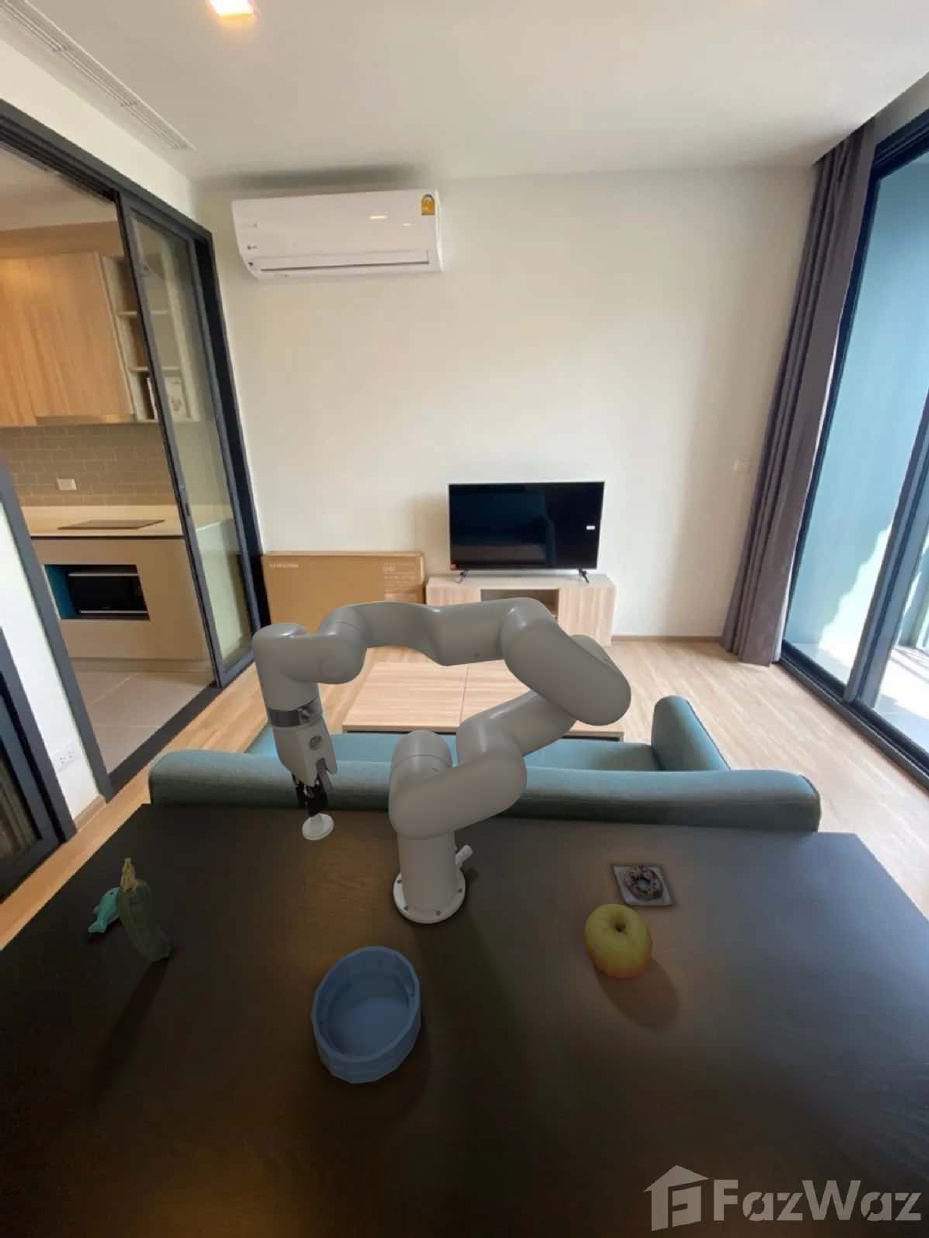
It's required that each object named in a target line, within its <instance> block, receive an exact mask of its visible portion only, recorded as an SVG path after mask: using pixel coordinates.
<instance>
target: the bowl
mask: <svg viewBox="0 0 929 1238" xmlns="http://www.w3.org/2000/svg"><path fill="white" fill-rule="evenodd" d="M316 988H317V989H316V990H315V993H314V996H313V1001H312V1006H311V1007H312V1008H311V1013H310V1019H311V1025H312V1028H313V1034H314V1039H315V1043H316V1047H317V1053H318V1057H319V1060H320V1061H321V1062H322V1064H323V1065H324V1066H325V1067H326V1069H327V1070H328V1071H329V1073H330V1074H331V1076H333V1077H336V1078H338V1079H340V1080H343V1081H346V1082H348V1083H350V1084H363V1083H373V1082H377V1081H379V1080H380V1079H381V1078H384V1077H385V1076H387V1075H389V1074H390V1073H392V1072H393V1071H395V1070H396V1069H398V1068H399V1066H400V1065H401V1064H402V1063H403V1062H404V1060H405V1059H406V1058H407V1056H408V1055H409V1054H410V1053H411V1051H412V1050H413V1049H414V1047H415V1043H416V1040H417V1038H418V1035H419V1032H420V1029H421V1026H422V999H421V987H420V981H419V978H418V976H417V973H416V971H415V969H414V966H413V964H412V963H411V962H410V961H409V960H408V959H407V958H406V957H405V956H404V955H403V954H402V953H401V952H400V951H397V950H395V949H392V948H388V947H385V946H383V945H377V946H365V947H361V948H359V949H356V950H353V951H352V952H350V953H347V954H346V955H343V956H342V957H341V958H340V959H339V960H338V961H336V962H335V963H334V964H333V965H332V966H331V967H330V968H329V969H328V970H327V971H326V972H325V974H324V976H323V978H322V980H321V981H320V983H319V985H318V986H317V987H316Z"/></svg>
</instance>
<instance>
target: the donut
mask: <svg viewBox="0 0 929 1238" xmlns="http://www.w3.org/2000/svg"><path fill="white" fill-rule="evenodd" d="M612 869H613V872H614V875H615V878H616V881H617V885H618V888H619V891H620V894H621V898H622V900H623V902H625V903H626V904H627V905H628V906H641V907H643V906H647V907H649V906H652V907H660V906H661V907H666V906H669V905H673V901H672V899H671V898H672V897H671V896H670V893H669V891H668V888H667V886H666V883H665V880H664V878H663V875H662V872H661V870H660V868H659V867H658V866H657V867H656V866H655V867H652V866H645V865H644V864H642V863H641V864H639V865H636V866H623V865H622V866H620V865H619V866H617V865H616V866H615V865H612Z"/></svg>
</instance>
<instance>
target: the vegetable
mask: <svg viewBox="0 0 929 1238" xmlns="http://www.w3.org/2000/svg"><path fill="white" fill-rule="evenodd" d="M123 861H124V865H123V866H122V867H121V871H122V875H121V878H120V883H119V884H120V886H119V887H120V888H119V890H118V892H117V895H116V899H115V904H116V909H117V912H118V915H119V917H118V918H119V920H120V922H121V923H122V925H123V927H124V928H125V931H126V933H127V935H128V936H129V938H130V940H131V941H132V943H133V945H134V946H135V947H134V948H136V950H137V952H138V953H139V954H140V955H141V956H142V957H143V958H144V959H145V960H147V961H148V962H151V963H154V962H158V961H161V960H162V959H164V958H166V957H169V955H170V954H169V952H170V951H171V946H170V942H169V940H168V939H167V936H166V935H165V933H164V932H163V930H162V928H161V927H160V926H159V924H158V922H157V920H156V917H155V913H154V905H153V894H152V890H151V888H150V885H148V883H147V882H146V881H145V880H143V879H141V878H136V871H135V868H134V865H133V864H131V863H132V858H131V857H125V858H124V859H123Z"/></svg>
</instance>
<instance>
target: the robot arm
mask: <svg viewBox="0 0 929 1238" xmlns="http://www.w3.org/2000/svg"><path fill="white" fill-rule="evenodd" d="M250 643H251V651H252V655H253V659H254V664H255V669H256V673H257V679H258V681H259V686H260V690H261V695H262V700H263V703H264V708H265V713H266V716H267V720H268V725H269V726H270V727H271V728H272V736H273V741H274V745H275V749H276V754H277V757H278V760H279V762H280V763H281V764H282V766H283V767H284V768H286V769H287V771H289V772H290V775H291V779H292V783H293V785H294V786H295V793H296V797H297V802H298V806H299V807H300V809H304V808H306V809H307V813H308V816H309V817H313V816H315V815H317V814H318V813H320V814H321V813H322V812H323V811H325V810H326V809H328V808H329V800H328V795H327V794H328V793H330V792H331V791H333V790H334V787H333V785H332V781H331V780H330V777H329V774H330V775H332V776H334V775H336V774H338V763H337V759H336V754H335V750H334V747H333V742H332V739H331V735H330V732H329V729H328V726H327V724H326V721H325V719H324V717H323V716H322V714H323V707H322V706H323V705H322V700H321V696H320V690H319V689H320V688H319V684H322V685H323V684H324V685H344V684H347V683H350V682H352V681H353V680H355V679H356V678H358V676H359V675H360V674H361V672H362V670H363V668H364V665H365V660H366V657H367V651H368V649H374V648H382V647H403V648H408V649H412V650H414V651H417V652H419V653H421V654H422V655H423V656H425V657H426V658H428V659H429V660H431V661H432V662H433V663H435V664H437V665H439V666H441V667H452V666H453V667H454V666H461V665H468V664H477V663H485V662H494V661H495V662H497V661H504V664H505V665H506V667H507V669H508V671H509V672H510V674H512V675H513V677H515V678H516V679H517V680H518V681H519V682H521V683H522V684H523V685H524V686H526V687H527V688H528V689H529V690H528V691H527V692H525V693H522V694H521V695H518V696H516V697H514V698H512V699H509V700H507V701H504V702H502V703H500V704H497V705H496V706H493V707H489V708H488V709H485V710H482V711H480V712H478V713H475V714H473V715H471V716H469V717H468V718H466V719H464V720H463V721H462V722H461V723H460V724H459V725H458V727H457V729H456V733H455V751H456V759H457V764H456V765H454V766H453V755H452V752H451V749H450V747H449V745H448V744H447V742H446V741H445V739H444V738H442V737H441V736H440V735H439V734H437V733H436V732H434V731H431V730H427V729H416V730H413V731H411V732H408V733H407V734H405V735H404V736H403V737H402V738H401V739H400V740H399V741H398V742H397V744H396V745H395V747H394V748H393V752H392V755H391V759H390V760H391V761H390V771H389V789H388V804H387V807H388V808H387V809H388V817H389V818H388V819H389V821H390V822H389V823H390V825H391V826H392V828H393V830H394V831H395V832H396V839H397V851H398V859H399V869H400V870H399V871H400V872H398V875H397V876H396V878H395V880H394V883H393V889H392V890H393V892H392V893H393V900H394V905H395V906H396V908H397V910H398V911H399V913H400V914H402V915H403V916H404V917H405V918H406V919H408V920H410V921H412V922H415V923H419V924H434V923H439V922H442V921H444V920H446V919H448V918H449V917H451V916H452V915H453V914H454V913H456V912H457V911H458V910H459V908H460V907H461V905H462V904H463V901H464V899H465V895H466V880H465V877H464V875H463V872H462V871H461V868H462V867H463V863H464V862H465V861H467V859H468V858H469V857H471V856H472V855H473V853H474V852H473V848H472V847H471V846H469V845H468V844H465V845H464V846H463V847H461V849H460V850H458V847H457V845H456V835H455V833H456V831H458V830H461V829H463V828H466V827H468V826H471V825H474V824H476V823H479V822H480V821H484V820H485V819H488V818H490V817H491V818H492V817H494V816H496V815H498V814H500V813H502V812H504V811H506V810H508V809H509V808H511V807H512V806H513V805H514V804H515V803H517V801H519V799H520V798H521V797H522V795H523V794H524V792H525V790H526V787H527V784H528V769H527V765H526V761H525V757H526V756H529V755H530V754H533V753H535V752H537V751H539V750H541V749H543V748H546V747H548V746H550V745H552V744H554V743H555V742H558V740H560V739H561V738H563V737H564V736H565V735H567V734H568V733H569V731H570V730H571V729H572V728H573V727H574V725H575V724H576V723H577V721H578V722H581V723H582V724H585V725H589V726H593V727H603V726H609V725H612V724H614V723H616V722H618V721H619V720H621V719H622V718H623V717H624V716H625V715H626V713H627V712H628V710H629V709H630V707H631V702H632V689H631V685H630V683H629V681H628V679H627V677H626V675H624V673H623V672H622V670H620V668H619V667H618V666H617V664H616V663H615V662H614V661H613V660H612V658H611V657H610V656H609V654H608V653H607V651H606V650H605V649H604V648H603V647H602V646H601V645H600V643H598V642H597V641H596V640H595V639H593V638H592V637H590V636H589V635H585V634H581V633H579V634H572V635H569V634H568V633H567V632H566V631H565V630H563V628H562V627H561V626H560V624H559V623H558V621H557V620H556V619H555V616H554V615H553V614H552V612H551V611H550V610H549V609H548V607H547V606H546V605H545V604H543V602H541V601H540V600H538V599H536V598H532V597H525V596H523V597H522V596H521V597H509V598H508V597H507V598H500V599H499V598H498V599H490V600H483V601H473V602H465V603H457V604H447V605H446V604H445V605H431V604H424V603H417V602H408V601H401V600H377V601H368V602H360V603H359V602H358V603H351V604H346V605H342V606H341V605H340V606H339V607H336V608H334V609H332V610H330V611H329V612H327V613H326V614H325V615H324V617H323V618H322V620H321V621H320V623H319V625H318V627H317V629H316V630H315V631H314V632H312V633H309V632H308V630H307V629H306V627H305V626H304V625H302V624H299V623H297V622H288V621H287V622H276V623H272V624H269V625H266V626H264V627H262V628H260V629H258V630H257V631H256V632H255V633H254V634H253V635H252V637H251V642H250ZM328 773H329V774H328ZM304 785H305V787H306V792H307V795H305V793H304V788H305V787H304ZM306 804H307V805H306ZM457 850H458V852H457V853H456V851H457Z"/></svg>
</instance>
